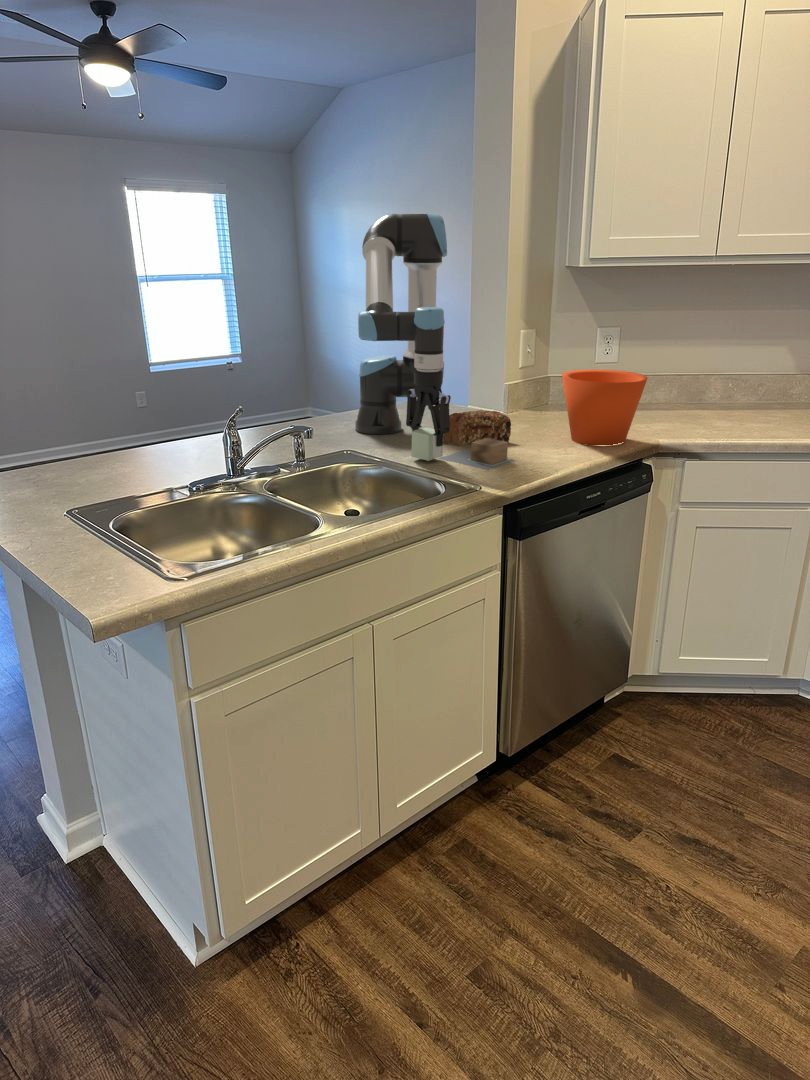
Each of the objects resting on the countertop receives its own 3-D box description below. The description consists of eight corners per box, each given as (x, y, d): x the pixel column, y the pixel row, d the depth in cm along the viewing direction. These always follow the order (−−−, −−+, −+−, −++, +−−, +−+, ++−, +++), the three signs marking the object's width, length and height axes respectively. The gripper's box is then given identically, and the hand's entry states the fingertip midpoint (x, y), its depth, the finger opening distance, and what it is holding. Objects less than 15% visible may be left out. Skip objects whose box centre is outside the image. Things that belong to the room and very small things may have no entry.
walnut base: (470, 460, 203) (471, 442, 201) (486, 455, 208) (487, 437, 206) (491, 465, 199) (492, 446, 197) (506, 459, 204) (507, 442, 202)
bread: (458, 450, 218) (459, 417, 215) (441, 442, 227) (441, 410, 224) (511, 444, 226) (513, 411, 222) (493, 437, 235) (494, 405, 231)
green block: (411, 456, 203) (411, 431, 200) (425, 452, 207) (426, 427, 204) (428, 460, 199) (428, 435, 196) (442, 456, 203) (443, 431, 200)
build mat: (437, 462, 206) (438, 457, 205) (466, 453, 214) (466, 449, 214) (487, 474, 195) (487, 469, 194) (515, 464, 204) (516, 459, 203)
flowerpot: (571, 427, 246) (576, 367, 239) (648, 436, 235) (656, 373, 228) (545, 443, 226) (550, 377, 219) (628, 454, 215) (636, 385, 207)
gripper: (392, 366, 197) (392, 451, 206) (447, 375, 185) (445, 464, 194) (411, 363, 202) (410, 445, 211) (466, 372, 190) (463, 459, 199)
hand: (427, 454), depth 203 cm, fingers closed on green block, 6 cm apart
